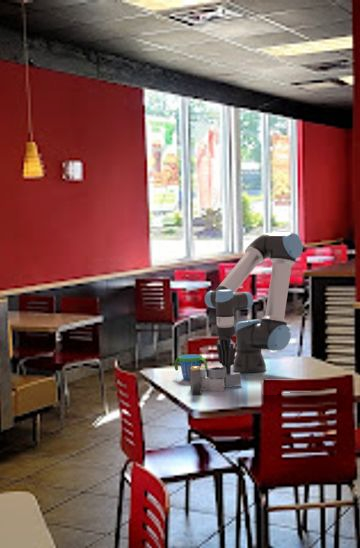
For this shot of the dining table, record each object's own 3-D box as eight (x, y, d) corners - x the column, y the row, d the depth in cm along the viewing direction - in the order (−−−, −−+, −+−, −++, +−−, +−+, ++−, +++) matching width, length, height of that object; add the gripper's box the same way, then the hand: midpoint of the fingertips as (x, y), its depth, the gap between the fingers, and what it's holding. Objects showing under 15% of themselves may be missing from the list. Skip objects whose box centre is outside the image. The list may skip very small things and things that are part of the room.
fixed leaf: (193, 388, 347) (192, 367, 347) (223, 388, 346) (223, 367, 346) (192, 391, 342) (191, 370, 341) (223, 391, 341) (222, 369, 340)
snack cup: (170, 379, 369) (169, 356, 368) (183, 375, 377) (182, 353, 377) (199, 382, 360) (198, 359, 359) (212, 378, 368) (211, 355, 368)
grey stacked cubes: (215, 391, 340) (214, 370, 339) (206, 389, 344) (206, 368, 344) (244, 385, 349) (243, 365, 348) (235, 383, 353) (235, 363, 353)
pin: (192, 393, 338) (191, 366, 337) (201, 393, 338) (200, 366, 337) (191, 395, 335) (190, 368, 334) (200, 395, 334) (199, 367, 334)
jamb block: (191, 387, 350) (190, 366, 349) (205, 387, 349) (205, 366, 349) (190, 389, 345) (190, 369, 344) (205, 389, 345) (204, 368, 344)
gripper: (209, 325, 355) (211, 379, 357) (226, 328, 344) (228, 384, 346) (224, 323, 359) (225, 377, 361) (241, 326, 348) (243, 382, 350)
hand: (227, 380), depth 353 cm, fingers closed
